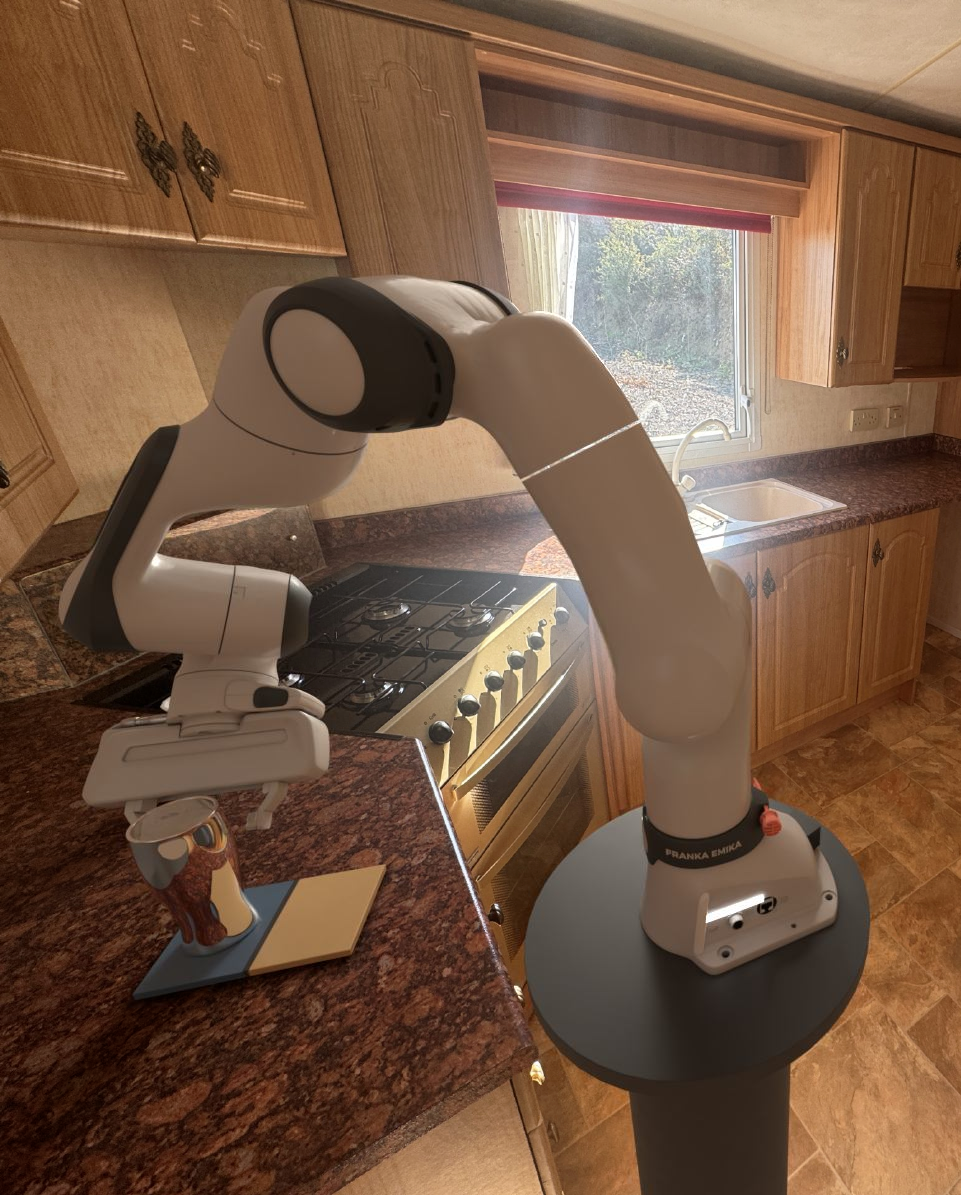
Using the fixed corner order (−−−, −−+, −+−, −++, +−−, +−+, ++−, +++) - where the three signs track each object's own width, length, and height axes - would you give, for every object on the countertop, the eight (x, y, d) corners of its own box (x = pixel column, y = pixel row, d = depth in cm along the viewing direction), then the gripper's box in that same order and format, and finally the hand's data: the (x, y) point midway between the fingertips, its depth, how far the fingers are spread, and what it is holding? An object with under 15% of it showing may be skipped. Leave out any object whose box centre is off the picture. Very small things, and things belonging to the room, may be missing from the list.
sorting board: (386, 868, 75) (385, 863, 75) (351, 955, 64) (349, 949, 64) (205, 901, 70) (202, 895, 70) (134, 1000, 60) (131, 994, 59)
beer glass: (274, 896, 70) (233, 787, 64) (250, 948, 64) (201, 833, 58) (196, 914, 68) (146, 803, 62) (163, 970, 62) (104, 852, 56)
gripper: (82, 713, 64) (47, 857, 59) (316, 688, 69) (302, 818, 64) (128, 727, 69) (99, 859, 64) (340, 703, 75) (330, 823, 70)
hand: (203, 838), depth 64 cm, fingers open, 8 cm apart
